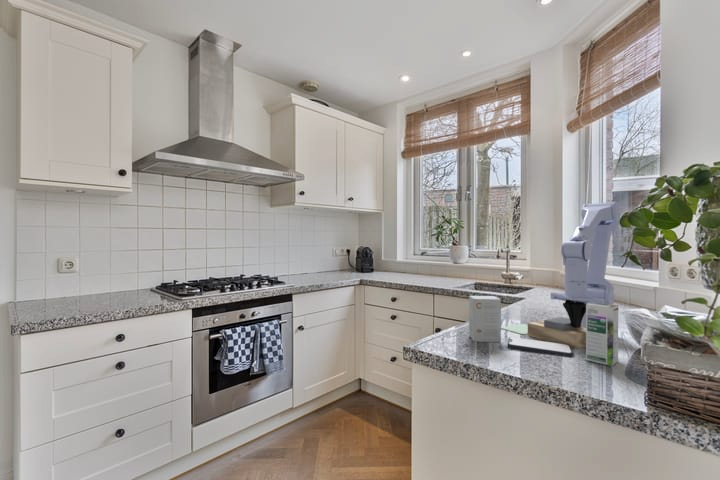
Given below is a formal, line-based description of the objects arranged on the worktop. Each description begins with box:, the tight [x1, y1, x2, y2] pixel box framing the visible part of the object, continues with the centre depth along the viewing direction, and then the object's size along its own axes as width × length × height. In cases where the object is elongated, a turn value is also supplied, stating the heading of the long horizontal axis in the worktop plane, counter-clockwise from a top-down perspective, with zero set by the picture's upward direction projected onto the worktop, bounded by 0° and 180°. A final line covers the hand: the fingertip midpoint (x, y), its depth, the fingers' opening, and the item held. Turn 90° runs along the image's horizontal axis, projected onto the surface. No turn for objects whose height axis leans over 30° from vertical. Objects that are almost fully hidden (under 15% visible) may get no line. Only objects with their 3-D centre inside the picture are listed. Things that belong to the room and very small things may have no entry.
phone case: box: [507, 336, 574, 358], centre depth 96 cm, size 9×2×16 cm
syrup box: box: [585, 302, 619, 367], centre depth 86 cm, size 6×6×14 cm
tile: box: [544, 316, 581, 331], centre depth 104 cm, size 9×6×2 cm, turn 117°
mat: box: [501, 323, 528, 336], centre depth 116 cm, size 12×9×1 cm
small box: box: [468, 295, 502, 343], centre depth 104 cm, size 8×6×13 cm
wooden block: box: [527, 319, 586, 350], centre depth 105 cm, size 10×15×4 cm, turn 27°
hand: (575, 327), depth 100 cm, fingers closed
